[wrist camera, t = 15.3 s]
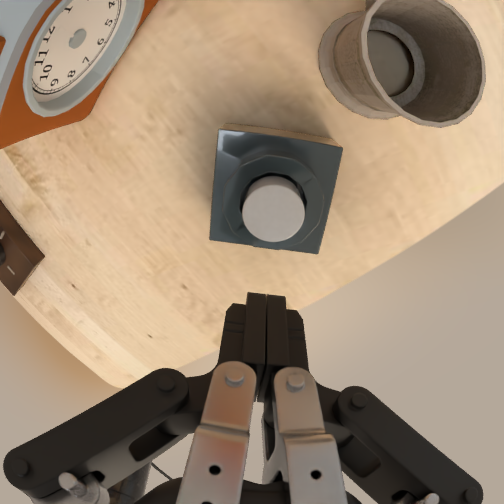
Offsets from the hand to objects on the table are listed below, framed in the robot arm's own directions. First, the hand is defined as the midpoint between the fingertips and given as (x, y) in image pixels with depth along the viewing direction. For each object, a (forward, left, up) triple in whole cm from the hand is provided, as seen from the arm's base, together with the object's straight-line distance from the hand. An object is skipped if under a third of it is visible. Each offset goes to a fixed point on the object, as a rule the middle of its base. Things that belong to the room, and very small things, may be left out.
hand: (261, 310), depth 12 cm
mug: (+15, -7, -16) cm, 23 cm away
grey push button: (+1, -1, -11) cm, 11 cm away
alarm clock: (+13, +17, -16) cm, 27 cm away
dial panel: (-10, +33, -16) cm, 38 cm away
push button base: (+1, -1, -16) cm, 16 cm away
